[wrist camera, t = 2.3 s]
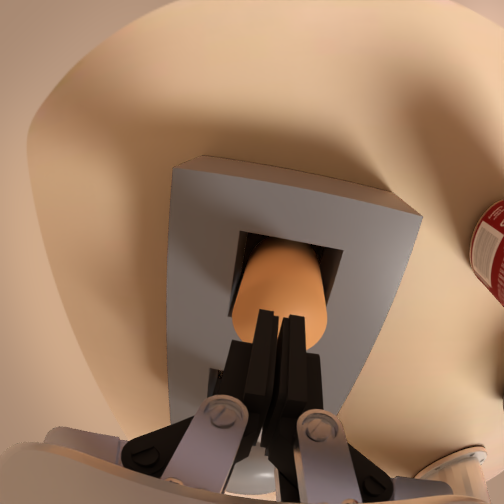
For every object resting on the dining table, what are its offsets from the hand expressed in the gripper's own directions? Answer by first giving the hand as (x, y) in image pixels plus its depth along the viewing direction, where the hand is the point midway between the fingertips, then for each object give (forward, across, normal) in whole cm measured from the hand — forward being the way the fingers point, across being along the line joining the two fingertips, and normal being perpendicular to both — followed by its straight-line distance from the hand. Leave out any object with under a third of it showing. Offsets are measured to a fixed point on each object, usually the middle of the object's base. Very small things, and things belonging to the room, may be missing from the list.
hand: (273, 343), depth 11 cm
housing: (+10, 0, +7) cm, 12 cm away
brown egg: (+7, 0, 0) cm, 7 cm away
